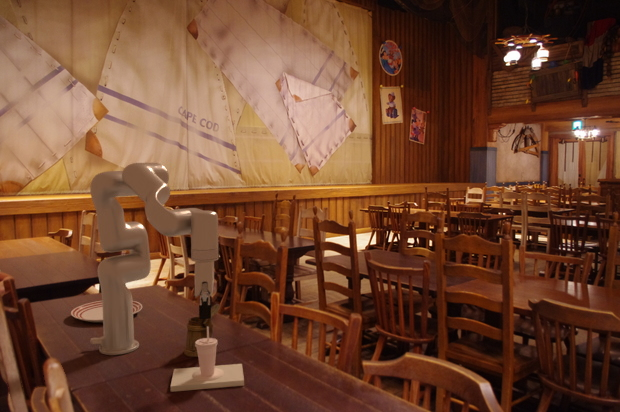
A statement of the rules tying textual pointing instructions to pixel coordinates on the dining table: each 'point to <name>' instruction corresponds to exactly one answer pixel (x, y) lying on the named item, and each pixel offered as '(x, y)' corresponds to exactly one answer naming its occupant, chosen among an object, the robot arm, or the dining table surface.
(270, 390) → the dining table surface
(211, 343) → the smoothie
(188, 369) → the serving board
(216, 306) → the wooden mug
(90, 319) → the dinner plate
